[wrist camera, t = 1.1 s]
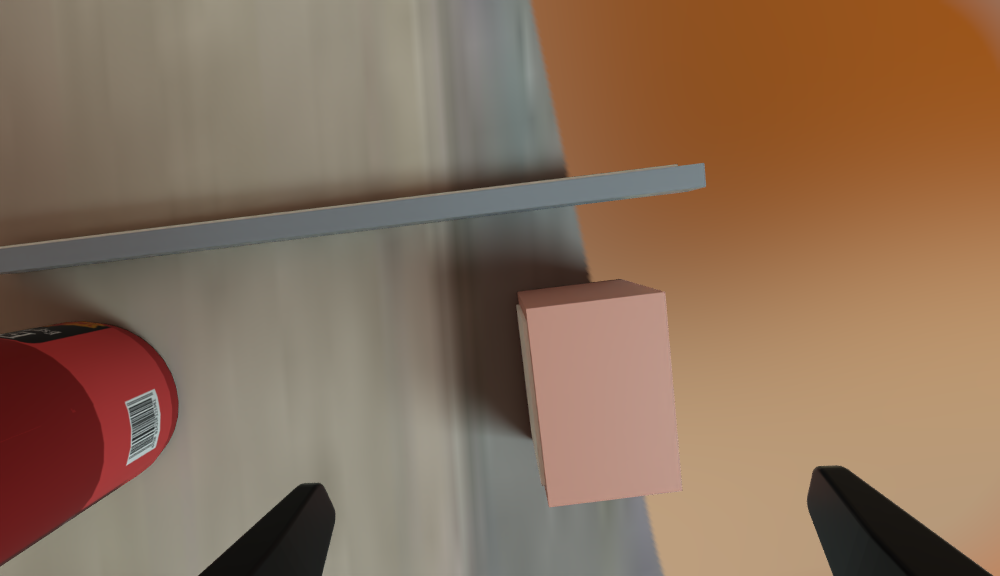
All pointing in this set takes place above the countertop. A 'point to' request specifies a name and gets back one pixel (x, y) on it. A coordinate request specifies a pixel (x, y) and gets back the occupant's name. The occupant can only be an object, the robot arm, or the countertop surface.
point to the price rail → (351, 218)
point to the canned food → (75, 423)
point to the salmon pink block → (600, 391)
